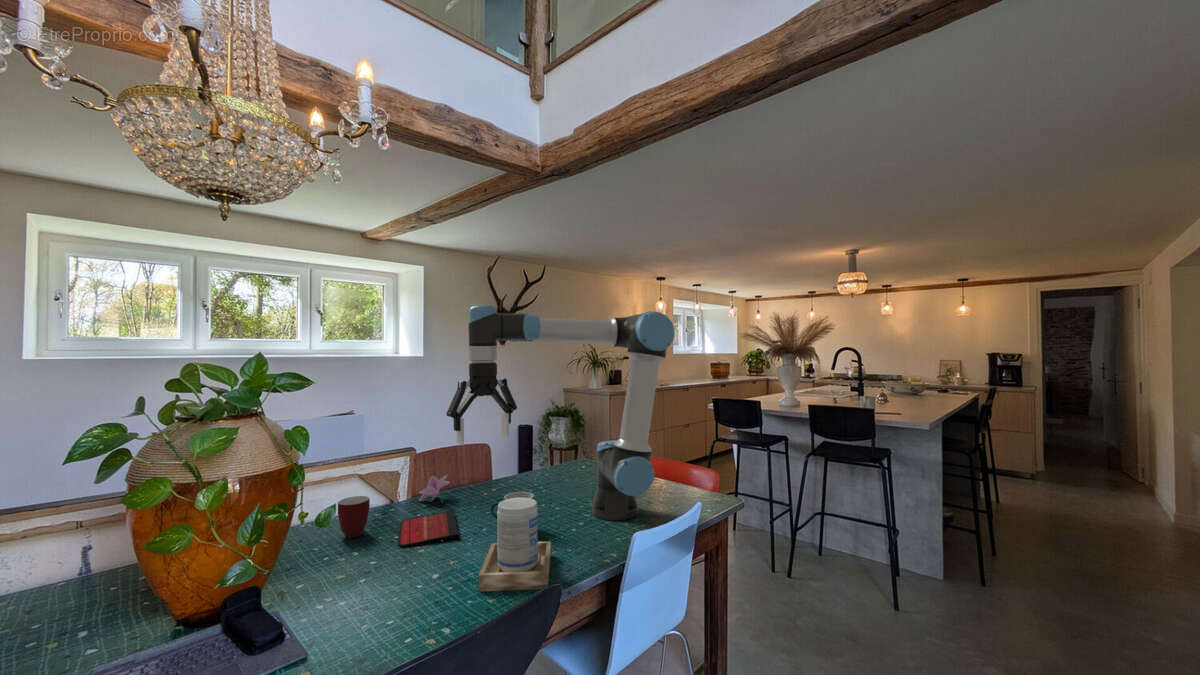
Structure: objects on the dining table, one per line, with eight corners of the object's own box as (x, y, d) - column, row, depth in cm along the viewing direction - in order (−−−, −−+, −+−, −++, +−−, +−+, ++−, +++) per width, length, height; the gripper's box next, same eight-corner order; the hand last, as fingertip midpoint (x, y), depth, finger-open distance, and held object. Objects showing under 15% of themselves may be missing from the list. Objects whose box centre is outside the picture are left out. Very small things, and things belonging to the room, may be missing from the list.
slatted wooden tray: (550, 555, 119) (550, 541, 119) (547, 589, 102) (547, 572, 102) (492, 556, 118) (492, 543, 118) (478, 591, 101) (478, 575, 101)
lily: (455, 498, 169) (444, 474, 171) (460, 493, 159) (449, 468, 161) (422, 514, 162) (412, 489, 164) (425, 511, 153) (414, 484, 155)
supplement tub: (539, 572, 106) (539, 508, 107) (497, 577, 104) (497, 511, 105) (535, 554, 116) (535, 495, 116) (497, 558, 114) (497, 498, 114)
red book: (454, 509, 148) (459, 533, 129) (454, 516, 148) (460, 541, 129) (400, 518, 143) (397, 544, 123) (400, 525, 143) (397, 553, 123)
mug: (339, 530, 136) (339, 496, 137) (369, 525, 140) (369, 492, 140) (336, 543, 127) (336, 506, 127) (369, 538, 130) (369, 502, 131)
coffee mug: (537, 525, 139) (537, 492, 139) (529, 537, 130) (529, 501, 131) (499, 524, 140) (499, 491, 140) (489, 535, 131) (489, 500, 132)
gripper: (514, 360, 139) (514, 431, 138) (433, 363, 122) (433, 444, 121) (528, 360, 133) (529, 434, 133) (445, 363, 116) (446, 448, 115)
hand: (483, 439), depth 127 cm, fingers open, 13 cm apart
